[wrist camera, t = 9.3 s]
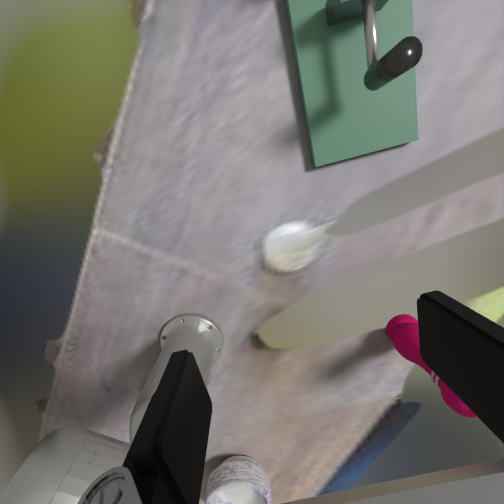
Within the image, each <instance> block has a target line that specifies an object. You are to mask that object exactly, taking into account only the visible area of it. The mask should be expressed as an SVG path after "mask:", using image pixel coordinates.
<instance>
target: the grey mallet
mask: <svg viewBox="0 0 504 504" xmlns="http://www.w3.org/2000/svg"><path fill="white" fill-rule="evenodd" d="M387 2H388V0H327V2H326V4H325V7H326V15H327V22H328V26H331V25H334V24H338V23H341V22H344V21H347V20H351V19H354V18H357V17H360V16H363V25H364V36H365V46H366V57H367V68H368V70H367V71H366V73H365V75H364V85H365V87H366V88H367V89H368V90H370V91H376V90H378V89H380V88H381V87H383V86H384V85H386V84H388V83H389V82H391V81H392V80H394V79H395V78H397V77H399V76H400V75H402V74H403V73H405V72H406V71H408V70H410V69H411V68H413V67H414V66H415V65H416V64H417V63H418V62H419V60H420V58H421V56H422V50H423V49H422V44H421V42H420V40H419V39H418V38H416V37H414V36H408V37H405V38H404V39H402V40H401V41H400V42H399V43H398V44H396V45H395V46H394V47H393V48H392V49H391V50H390V51H388V52H387V53H386V54H385V55H384V56H383V57H381V58H380V59H379V47H378V34H377V21H376V12H377V11H380V10H381V9H382V8H383V7H384V5H385V4H386V3H387Z"/></svg>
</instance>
